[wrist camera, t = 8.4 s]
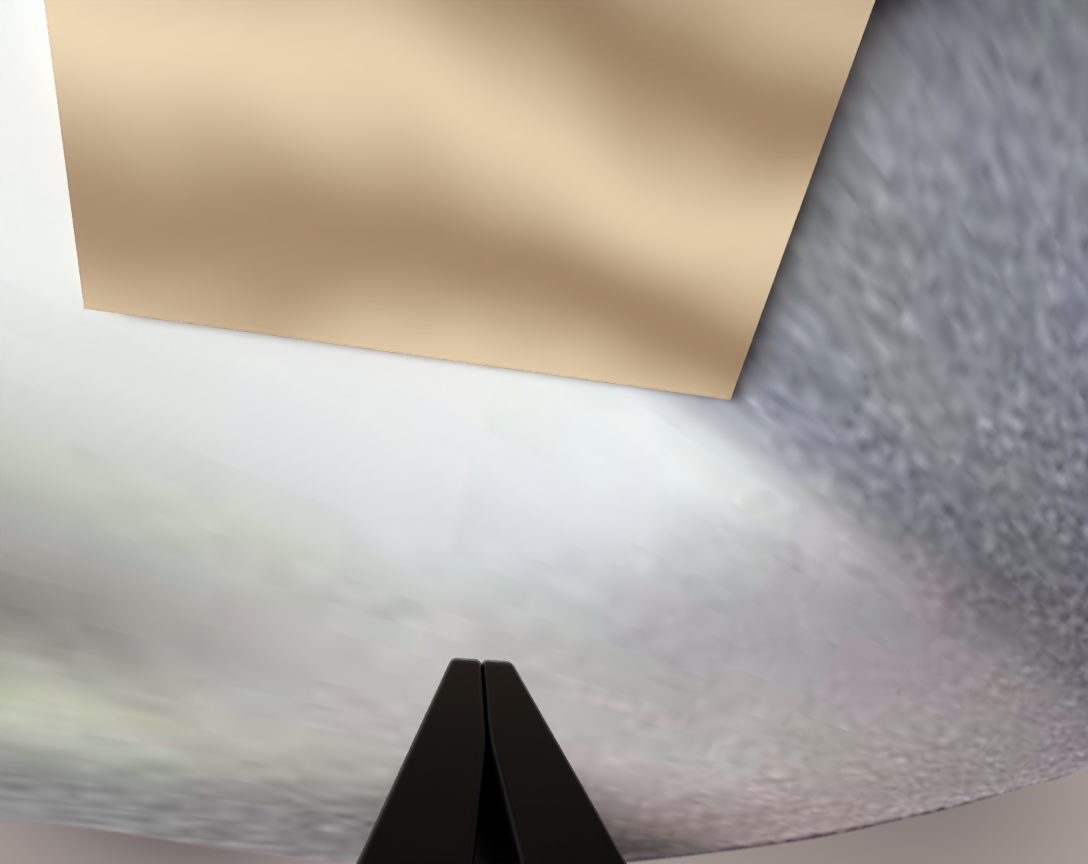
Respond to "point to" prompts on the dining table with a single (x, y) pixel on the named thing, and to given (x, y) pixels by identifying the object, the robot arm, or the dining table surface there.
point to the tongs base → (452, 171)
